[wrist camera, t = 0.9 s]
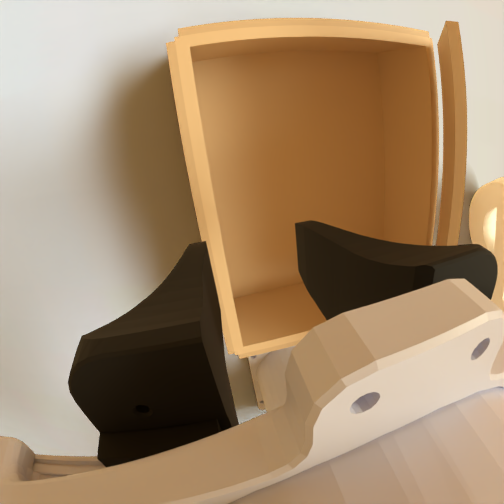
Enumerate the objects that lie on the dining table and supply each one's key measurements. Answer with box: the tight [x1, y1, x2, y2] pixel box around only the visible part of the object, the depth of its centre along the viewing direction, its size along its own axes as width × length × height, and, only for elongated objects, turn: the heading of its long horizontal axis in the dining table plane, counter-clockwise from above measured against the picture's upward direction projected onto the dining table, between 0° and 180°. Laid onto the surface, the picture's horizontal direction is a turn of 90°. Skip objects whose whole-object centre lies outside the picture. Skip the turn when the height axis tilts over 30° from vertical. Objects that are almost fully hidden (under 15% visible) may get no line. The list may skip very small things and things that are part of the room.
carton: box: [166, 18, 439, 359], centre depth 19 cm, size 19×14×6 cm
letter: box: [469, 177, 504, 313], centre depth 25 cm, size 22×2×10 cm, turn 18°
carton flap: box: [436, 21, 467, 246], centre depth 14 cm, size 17×7×1 cm
